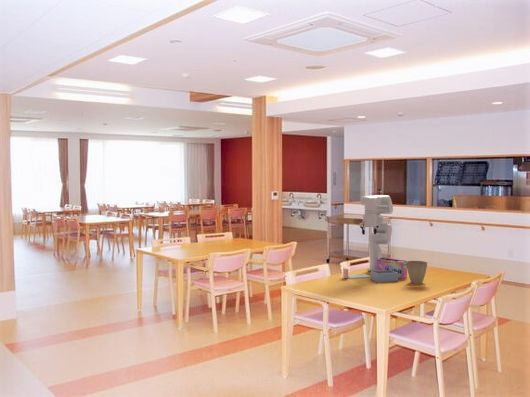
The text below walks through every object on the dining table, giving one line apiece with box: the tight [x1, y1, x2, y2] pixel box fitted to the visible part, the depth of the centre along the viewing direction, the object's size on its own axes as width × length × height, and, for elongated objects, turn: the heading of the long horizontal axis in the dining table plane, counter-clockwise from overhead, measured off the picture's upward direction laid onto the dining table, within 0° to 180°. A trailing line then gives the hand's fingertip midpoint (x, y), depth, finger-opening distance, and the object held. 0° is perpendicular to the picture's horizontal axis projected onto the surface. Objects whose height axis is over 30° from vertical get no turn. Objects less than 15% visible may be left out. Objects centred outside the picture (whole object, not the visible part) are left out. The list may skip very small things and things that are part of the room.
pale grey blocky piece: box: [342, 267, 371, 280], centre depth 392 cm, size 11×20×8 cm, turn 105°
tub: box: [370, 270, 399, 283], centre depth 381 cm, size 11×17×7 cm, turn 103°
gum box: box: [377, 257, 408, 279], centre depth 397 cm, size 24×8×14 cm, turn 49°
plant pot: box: [406, 260, 428, 285], centre depth 372 cm, size 15×15×16 cm
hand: (369, 234), depth 398 cm, fingers open, 9 cm apart
